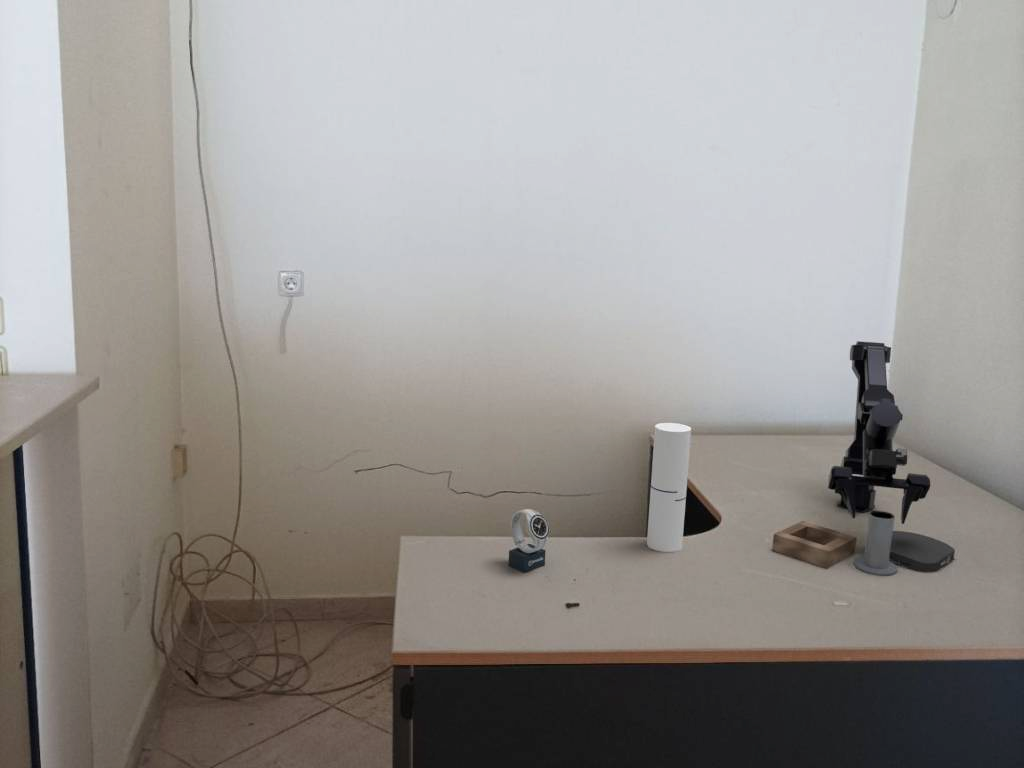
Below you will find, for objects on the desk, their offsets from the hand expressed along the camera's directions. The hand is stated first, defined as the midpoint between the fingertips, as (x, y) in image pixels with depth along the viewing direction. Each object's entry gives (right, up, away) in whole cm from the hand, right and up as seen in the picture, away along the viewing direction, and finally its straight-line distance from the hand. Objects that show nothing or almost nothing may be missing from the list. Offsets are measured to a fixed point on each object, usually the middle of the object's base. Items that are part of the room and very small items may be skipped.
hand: (878, 520), depth 183 cm
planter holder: (-11, -7, +6) cm, 14 cm away
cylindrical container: (-41, -6, +6) cm, 42 cm away
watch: (-70, -8, -6) cm, 70 cm away
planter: (-1, -9, -1) cm, 9 cm away
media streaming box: (+8, -8, +6) cm, 13 cm away
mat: (-1, -9, -1) cm, 9 cm away
